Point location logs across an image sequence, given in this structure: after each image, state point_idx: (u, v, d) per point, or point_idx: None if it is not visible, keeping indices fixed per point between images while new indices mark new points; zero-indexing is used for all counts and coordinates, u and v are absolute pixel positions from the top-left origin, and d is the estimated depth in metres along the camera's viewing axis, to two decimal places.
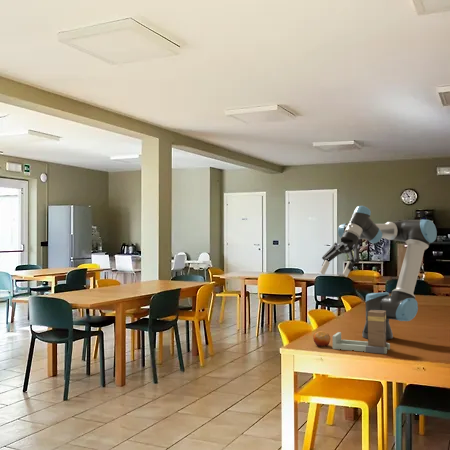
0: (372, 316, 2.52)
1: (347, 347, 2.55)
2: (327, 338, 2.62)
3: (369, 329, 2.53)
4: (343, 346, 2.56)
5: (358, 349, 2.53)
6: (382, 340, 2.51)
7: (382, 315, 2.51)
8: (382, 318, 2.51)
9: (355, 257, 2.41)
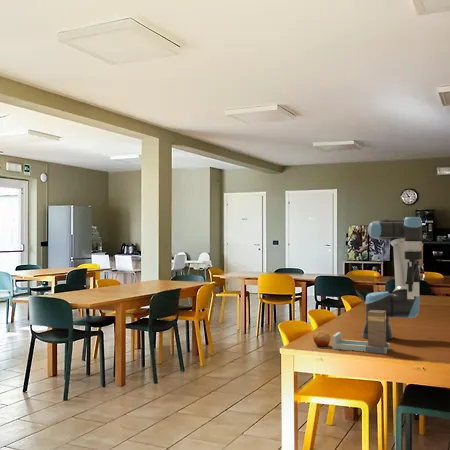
0: (372, 316, 2.52)
1: (347, 347, 2.55)
2: (327, 338, 2.62)
3: (369, 329, 2.53)
4: (343, 346, 2.56)
5: (358, 349, 2.53)
6: (382, 340, 2.51)
7: (382, 315, 2.51)
8: (382, 318, 2.51)
9: (419, 277, 2.58)
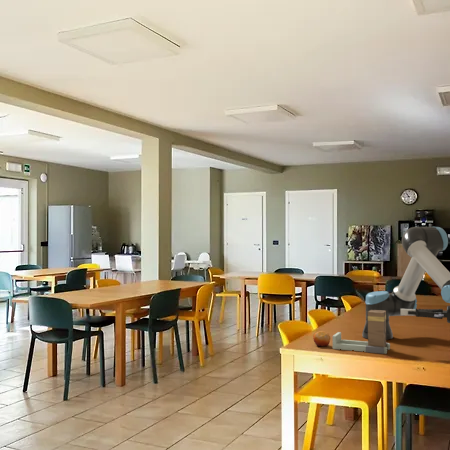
0: (372, 316, 2.52)
1: (347, 347, 2.55)
2: (327, 338, 2.62)
3: (369, 329, 2.53)
4: (343, 346, 2.56)
5: (358, 349, 2.53)
6: (382, 340, 2.51)
7: (382, 315, 2.51)
8: (382, 318, 2.51)
9: None
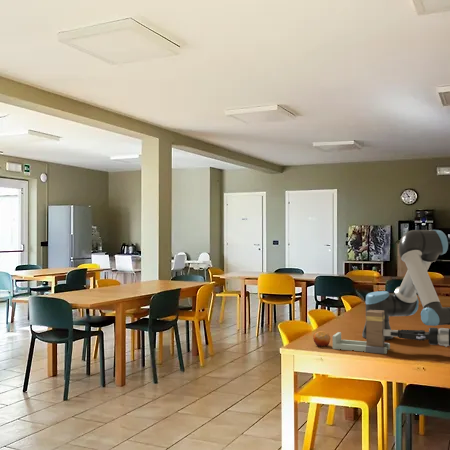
0: (370, 316, 2.53)
1: (347, 347, 2.55)
2: (327, 338, 2.62)
3: (367, 329, 2.53)
4: (343, 346, 2.56)
5: (358, 349, 2.53)
6: (380, 340, 2.51)
7: (380, 315, 2.51)
8: (380, 318, 2.51)
9: None
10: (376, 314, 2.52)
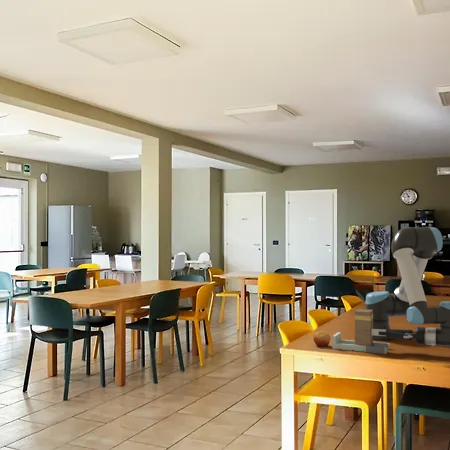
0: (359, 315, 2.55)
1: (347, 347, 2.55)
2: (327, 338, 2.62)
3: (356, 328, 2.56)
4: (343, 346, 2.56)
5: (358, 349, 2.53)
6: (369, 339, 2.53)
7: (369, 314, 2.53)
8: (369, 317, 2.53)
9: None
10: (364, 313, 2.54)
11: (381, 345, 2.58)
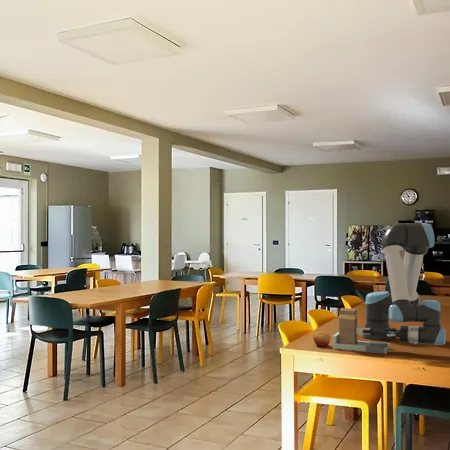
0: (343, 314, 2.58)
1: (347, 347, 2.55)
2: (327, 338, 2.62)
3: (340, 327, 2.59)
4: (343, 346, 2.56)
5: (358, 349, 2.53)
6: (353, 338, 2.56)
7: (353, 313, 2.56)
8: (353, 316, 2.56)
9: None
10: (349, 312, 2.57)
11: (381, 345, 2.58)
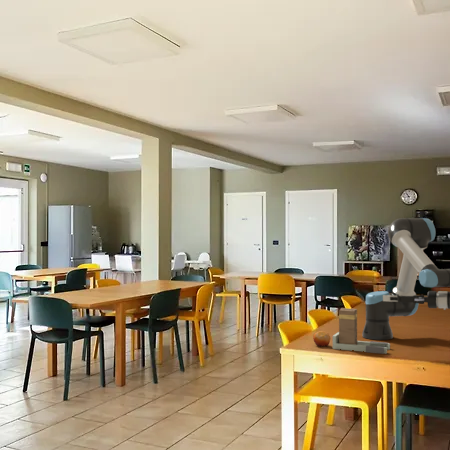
0: (343, 314, 2.58)
1: (347, 347, 2.55)
2: (327, 338, 2.62)
3: (340, 327, 2.59)
4: (343, 346, 2.56)
5: (358, 349, 2.53)
6: (353, 338, 2.56)
7: (353, 313, 2.56)
8: (353, 316, 2.56)
9: None
10: (348, 312, 2.57)
11: (381, 345, 2.58)
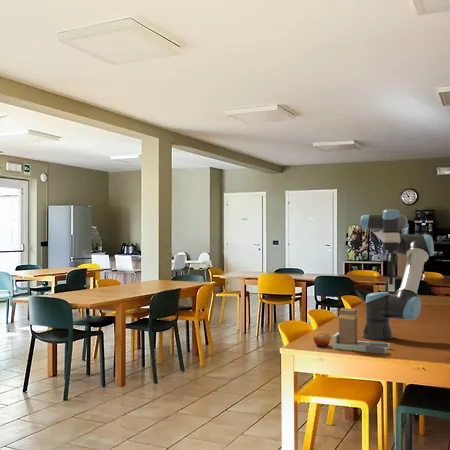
0: (343, 314, 2.58)
1: (347, 347, 2.55)
2: (327, 338, 2.62)
3: (340, 327, 2.59)
4: (343, 346, 2.56)
5: (358, 349, 2.53)
6: (353, 338, 2.56)
7: (353, 313, 2.56)
8: (353, 316, 2.56)
9: None
10: (348, 312, 2.57)
11: (381, 345, 2.58)
